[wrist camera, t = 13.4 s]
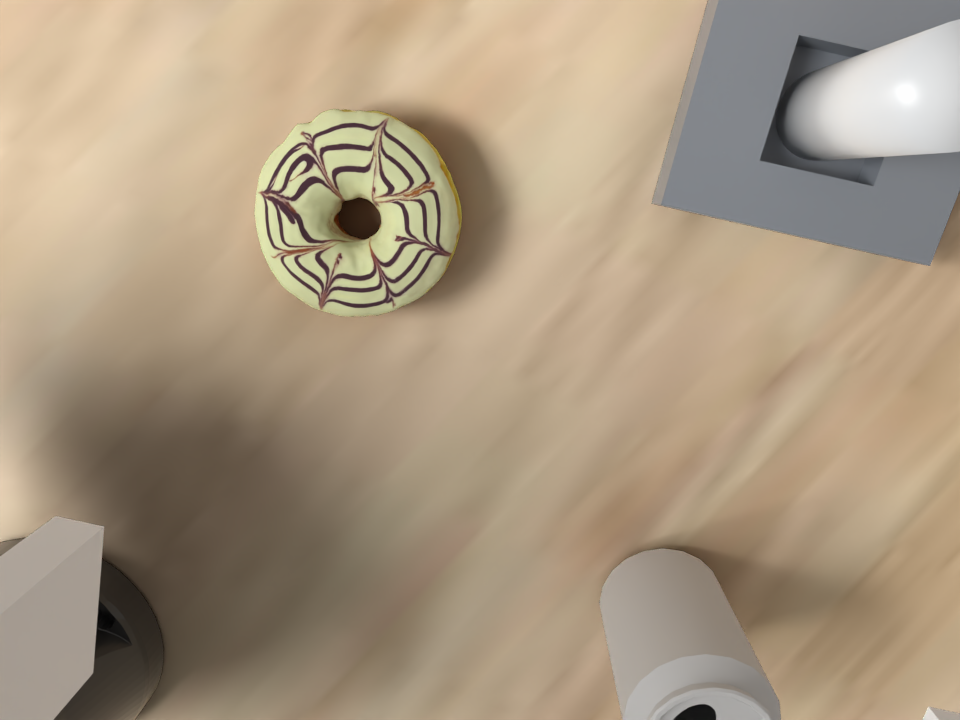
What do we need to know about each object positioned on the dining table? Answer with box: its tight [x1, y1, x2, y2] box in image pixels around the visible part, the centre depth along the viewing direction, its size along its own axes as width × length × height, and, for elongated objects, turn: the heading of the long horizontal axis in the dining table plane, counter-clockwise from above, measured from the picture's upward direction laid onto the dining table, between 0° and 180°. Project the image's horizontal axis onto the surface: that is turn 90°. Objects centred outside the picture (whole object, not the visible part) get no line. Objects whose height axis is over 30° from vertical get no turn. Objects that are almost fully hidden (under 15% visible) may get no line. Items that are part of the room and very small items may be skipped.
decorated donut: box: [254, 109, 462, 317], centre depth 36 cm, size 10×11×4 cm
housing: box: [651, 0, 960, 266], centre depth 32 cm, size 22×14×2 cm, turn 168°
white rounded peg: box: [777, 19, 960, 161], centre depth 29 cm, size 4×4×11 cm
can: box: [599, 548, 781, 720], centre depth 37 cm, size 8×8×12 cm
